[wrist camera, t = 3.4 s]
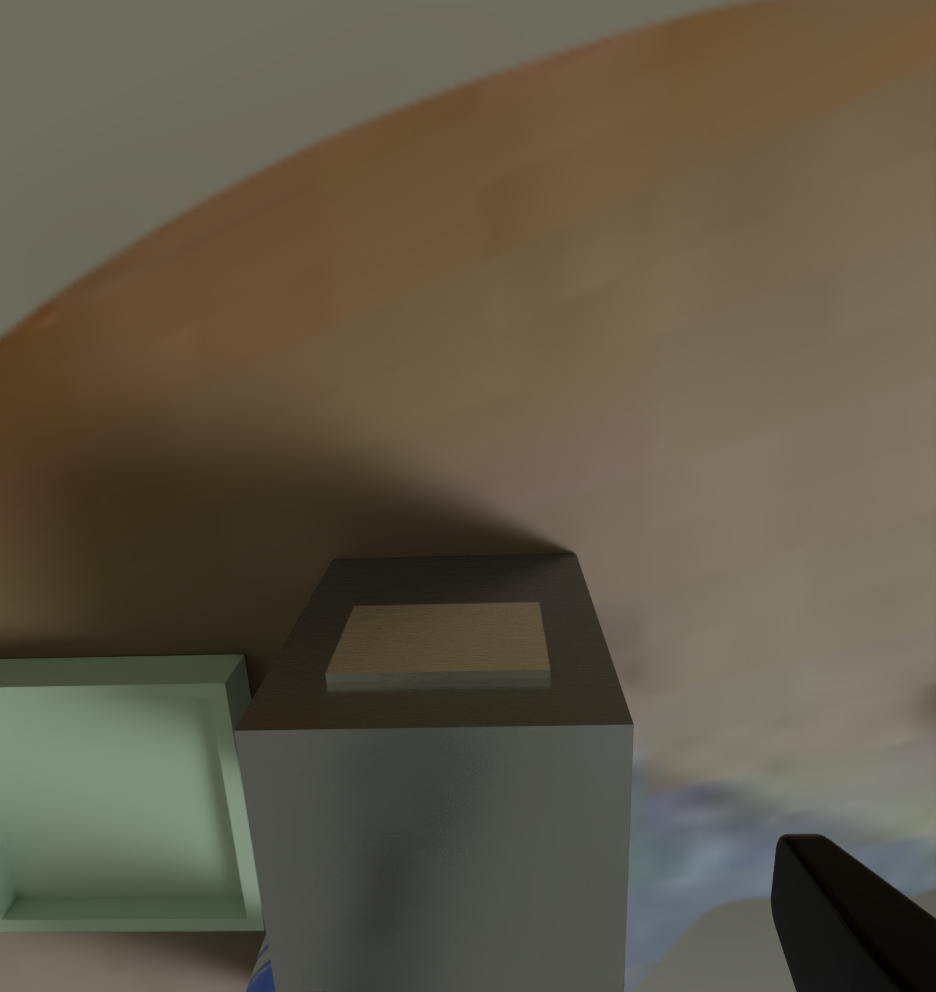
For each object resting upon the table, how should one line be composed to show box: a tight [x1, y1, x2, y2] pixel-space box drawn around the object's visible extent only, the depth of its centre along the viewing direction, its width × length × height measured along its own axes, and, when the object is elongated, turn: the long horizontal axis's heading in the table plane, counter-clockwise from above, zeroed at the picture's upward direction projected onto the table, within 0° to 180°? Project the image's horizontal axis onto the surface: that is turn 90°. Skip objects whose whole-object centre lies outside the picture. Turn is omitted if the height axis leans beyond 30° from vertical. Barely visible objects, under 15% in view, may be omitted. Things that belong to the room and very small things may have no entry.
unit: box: [234, 554, 634, 992], centre depth 17 cm, size 8×7×8 cm
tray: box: [0, 654, 265, 932], centre depth 21 cm, size 9×9×2 cm
